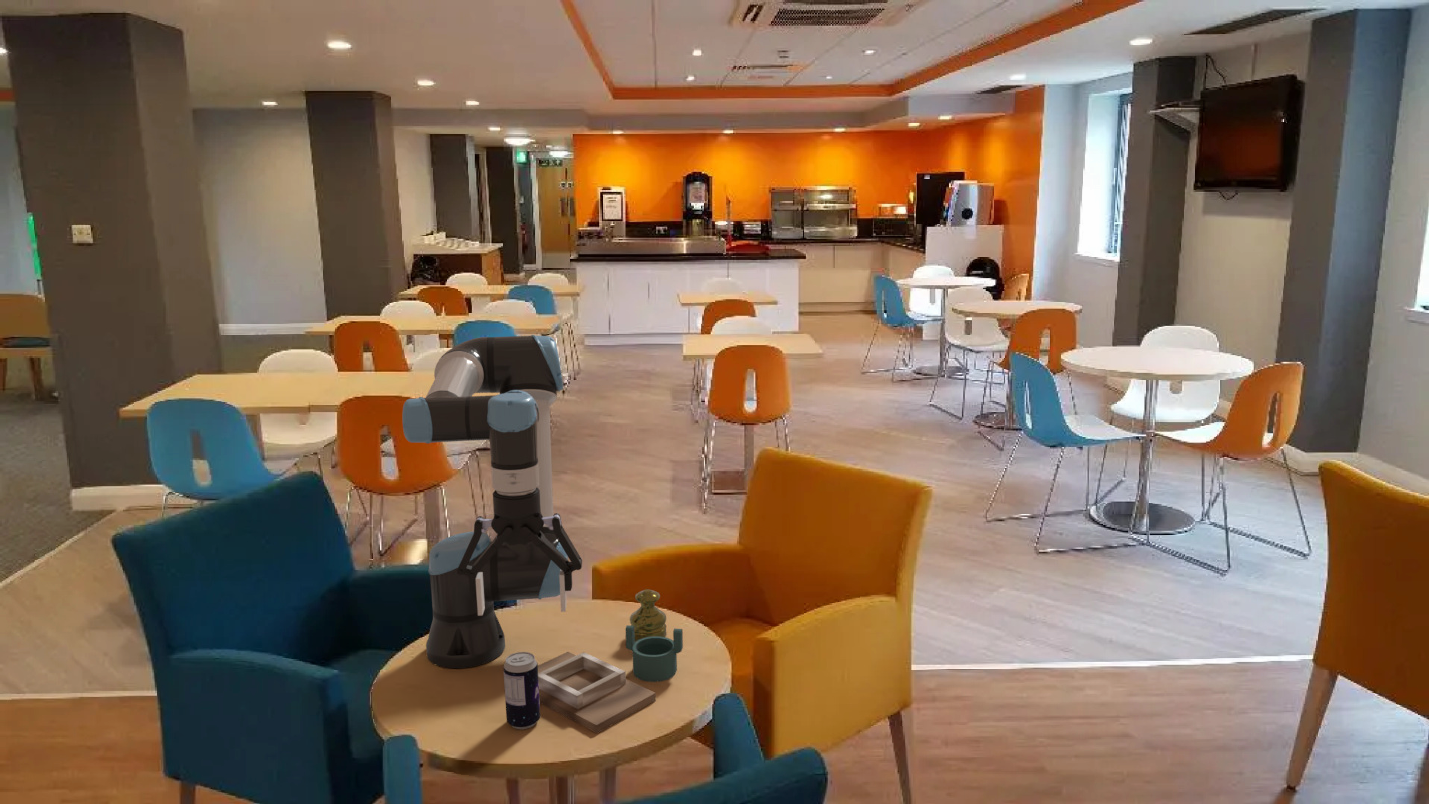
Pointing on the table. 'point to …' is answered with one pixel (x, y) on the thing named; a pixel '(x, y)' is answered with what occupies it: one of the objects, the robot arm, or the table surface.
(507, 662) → the beverage can
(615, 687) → the can holder
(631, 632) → the teal cauldron pot
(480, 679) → the table surface
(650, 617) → the brass calibration weight
